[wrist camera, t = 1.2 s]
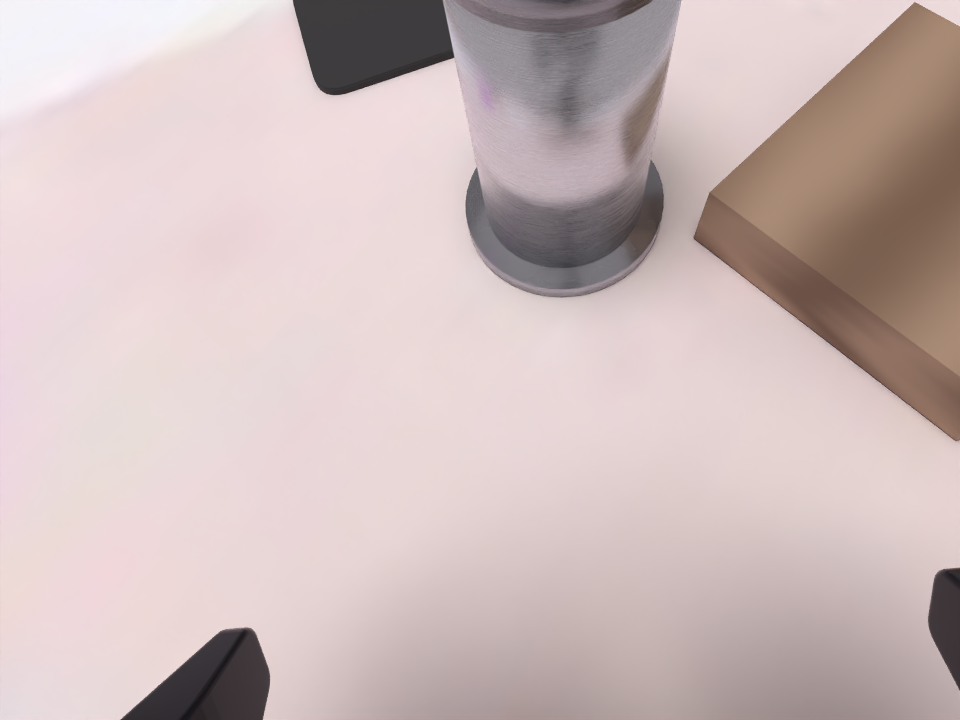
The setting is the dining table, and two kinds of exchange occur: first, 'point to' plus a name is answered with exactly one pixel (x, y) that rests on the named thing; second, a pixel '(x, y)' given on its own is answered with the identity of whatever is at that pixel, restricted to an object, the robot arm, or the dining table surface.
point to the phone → (371, 40)
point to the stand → (864, 214)
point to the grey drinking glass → (563, 135)
